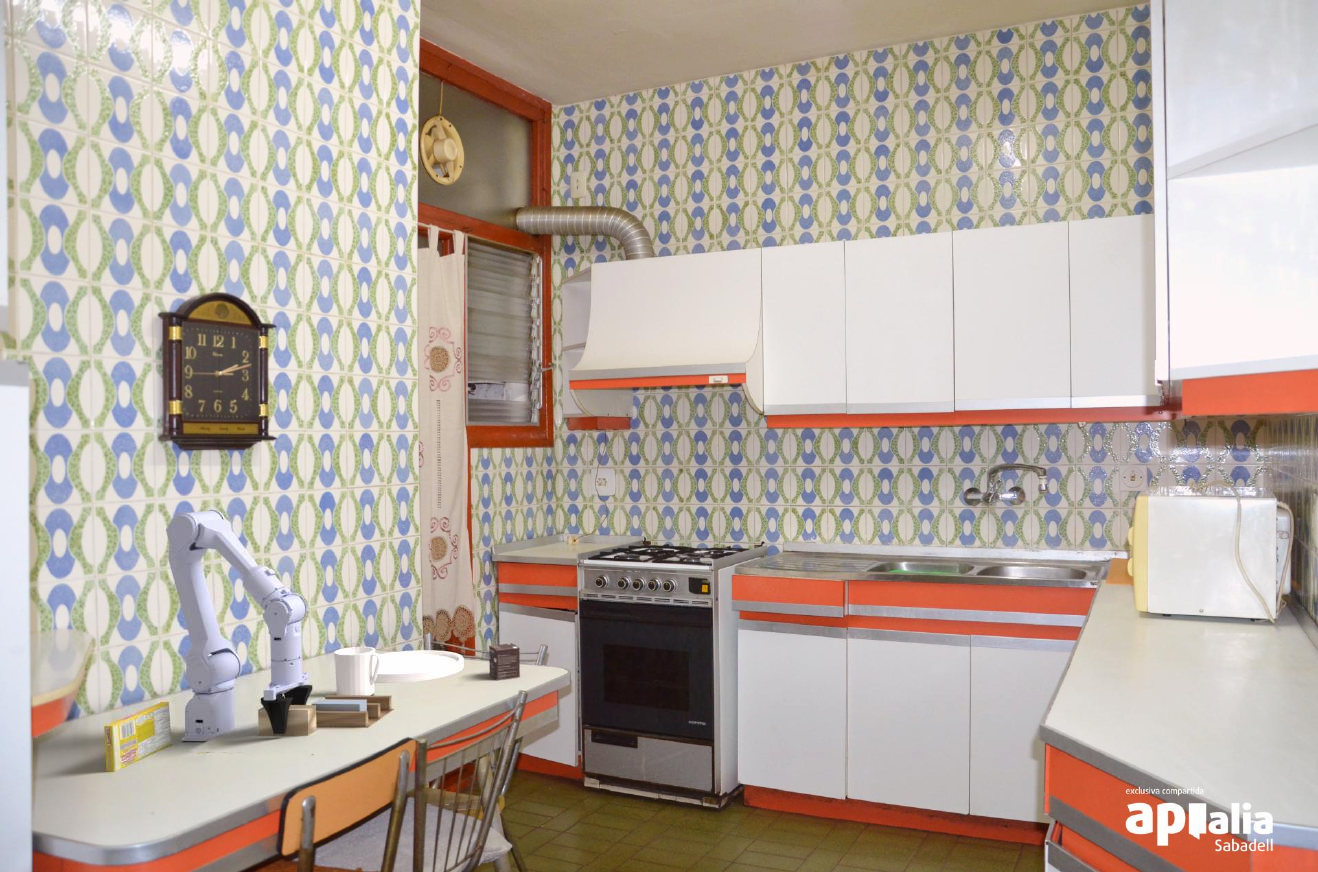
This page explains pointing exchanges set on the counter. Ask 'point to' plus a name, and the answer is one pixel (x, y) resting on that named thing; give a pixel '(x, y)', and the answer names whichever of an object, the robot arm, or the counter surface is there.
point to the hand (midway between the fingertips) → (288, 728)
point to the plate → (417, 665)
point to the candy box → (137, 736)
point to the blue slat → (340, 705)
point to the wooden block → (291, 721)
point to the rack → (355, 712)
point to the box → (504, 661)
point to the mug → (356, 670)
